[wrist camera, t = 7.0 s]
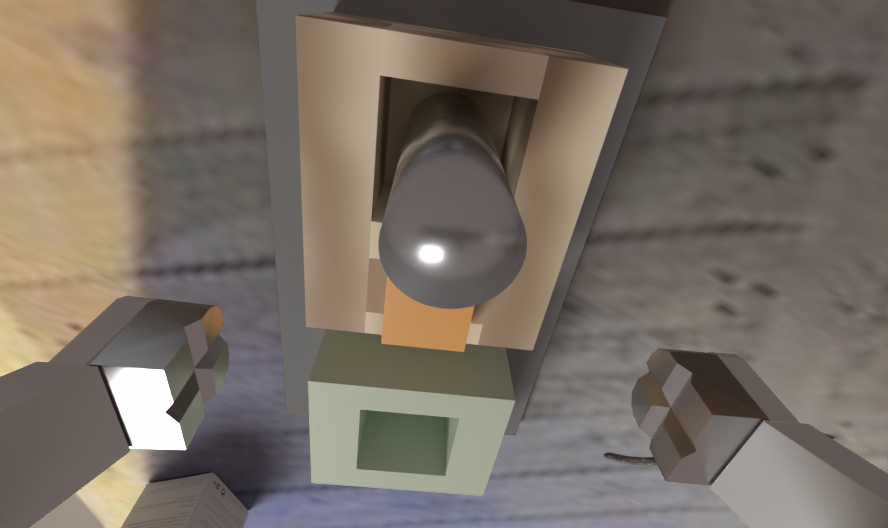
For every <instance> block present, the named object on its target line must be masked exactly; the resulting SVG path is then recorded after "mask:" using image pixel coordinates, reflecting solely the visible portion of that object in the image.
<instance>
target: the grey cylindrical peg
mask: <svg viewBox="0 0 888 528" xmlns="http://www.w3.org/2000/svg"><path fill="white" fill-rule="evenodd" d="M378 250H379V256H380V260H381V264H382V266H383V269H384V271H385V273H386V274H387V276H388V277H389V279H390V281H391V282H392V283H393V284H394V285H395V286H396V287H397V288H398V289H399V290H400V291H401V292H402V293H404V294H405V295H407V296H408V297H410V298H411V299H413V300H415V301H417V302H420V303H422V304H425V305H428V306H432V307H436V308H443V309H460V308H467V307H472V306H475V305H479V304H481V303H484V302H486V301H488V300H490V299H492V298H494V297H495V296H497V295H499V294H500V293H501V292H503V291H504V290H505V289H506V288H507V287H508V286H509V285H510V284H511V283H512V282H513V281H514V279H515V278H516V276H517V275H518V273H519V272H520V270H521V268H522V265H523V263H524V260H525V256H526V251H527V236H526V230H525V226H524V223H523V221H522V218H521V215H520V213H519V210H518V207H517V205H516V202H515V199H514V197H513V194H512V191H511V189H510V186H509V183H508V181H507V178H506V175H505V173H504V170H503V167H502V165H501V162H500V159H499V157H498V154H497V151H496V149H495V146H494V143H493V141H492V138H491V135H490V133H489V130H488V127H487V125H486V122H485V119H484V117H483V114H482V112H481V111H480V109H479V108H478V106H477V105H476V104H475V103H474V102H473V101H472V100H471V99H469V98H468V97H466V96H464V95H462V94H459V93H456V92H448V91H447V92H439V93H435V94H432V95H430V96H428V97H426V98H425V99H424V100H422V101H421V102H420V103H419V104H418V105H417V107H416V108H415V109H414V111H413V113H412V115H411V117H410V120H409V124H408V127H407V131H406V135H405V139H404V142H403V146H402V150H401V154H400V158H399V161H398V165H397V169H396V173H395V176H394V180H393V184H392V188H391V192H390V195H389V199H388V203H387V207H386V210H385V214H384V218H383V222H382V226H381V229H380V234H379V240H378Z"/></svg>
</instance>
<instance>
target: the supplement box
mask: <svg viewBox="0 0 888 528" xmlns="http://www.w3.org/2000/svg"><path fill="white" fill-rule="evenodd" d="M247 515H248V511H247V509H246V508H245V506H244V505H243V504H242V503H241V502H240V501H239V500H238V498H237V497H236V496H235V495H234V494H233V493H232V492H231V491H230V489H229V488H228V487H227V486H226V485H225V484H224V483H223V482H222V481H221V480H220V479H219V478H218V476H217V475H216V474H215V473H213V472H211V473H206V474H201V475H195V476H189V477H184V478H178V479H172V480H166V481H160V482H155V483H149V484H147V485H146V487H145V489H144V490H143V492H142V494H141V495H140V497H139V498H138V500H137V502H136V503H135V505H134V507H133V508H132V510H131V512H130V513H129V515H128V517H127V518H126V520H125V522H124V523H123V525H122V527H121V528H243V527H244V524H245V521H246V518H247Z"/></svg>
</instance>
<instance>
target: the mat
mask: <svg viewBox="0 0 888 528" xmlns="http://www.w3.org/2000/svg"><path fill="white" fill-rule="evenodd" d="M256 9H257V22H258V35H259V49H260V62H261V75H262V88H263V102H264V115H265V128H266V141H267V155H268V168H269V181H270V194H271V208H272V221H273V234H274V247H275V261H276V274H277V287H278V300H279V314H280V327H281V340H282V353H283V367H284V380H285V393H286V406H287V415H288V416H299V417H309V397H308V380H309V377H310V374H311V371H312V368H313V365H314V362H315V360H316V357H317V354H318V351H319V348H320V345H321V343H322V340H323V337H324V334H325V331H326V329H322V328H312V327H306V309H305V280H304V251H303V222H302V193H301V164H300V135H299V106H298V77H297V48H296V19H295V15H303V14H314V13H326V12H337V13H343V14H349V15H355V16H362V17H368V18H374V19H380V20H386V21H392V22H398V23H404V24H410V25H416V26H422V27H429V28H435V29H441V30H447V31H453V32H459V33H465V34H471V35H477V36H483V37H489V38H496V39H502V40H508V41H514V42H520V43H526V44H532V45H538V46H544V47H550V48H557V49H563V50H569V51H575V52H581V53H584V54H587V55H590V56H593V57H596V58H598V59H601V60H604V61H607V62H610V63H612V64H615V65H618V66H621V67H624V68H626V69H628V72H627V75H626V78H625V81H624V84H623V87H622V90H621V93H620V96H619V99H618V102H617V105H616V108H615V110H614V113H613V116H612V119H611V122H610V125H609V128H608V131H607V134H606V137H605V140H604V143H603V146H602V149H601V151H600V154H599V157H598V160H597V163H596V166H595V169H594V172H593V175H592V178H591V181H590V184H589V187H588V190H587V193H586V195H585V198H584V201H583V204H582V207H581V210H580V213H579V216H578V219H577V222H576V225H575V228H574V231H573V234H572V236H571V239H570V242H569V245H568V248H567V251H566V254H565V257H564V260H563V263H562V266H561V269H560V272H559V275H558V278H557V280H556V283H555V286H554V289H553V292H552V295H551V298H550V301H549V304H548V307H547V310H546V313H545V316H544V319H543V322H542V324H541V327H540V330H539V333H538V336H537V339H536V342H535V345H534V348H533V350H523V349H513V348H506V353H507V358H508V363H509V369H510V374H511V379H512V385H513V390H514V395H515V404H514V407H513V409H512V412H511V415H510V418H509V421H508V424H507V427H506V430H505V433H504V434H505V435H516V432H517V429H518V427H519V424H520V421H521V418H522V416H523V413H524V410H525V407H526V405H527V402H528V399H529V396H530V394H531V391H532V388H533V385H534V383H535V380H536V377H537V374H538V372H539V369H540V366H541V363H542V361H543V358H544V355H545V352H546V350H547V347H548V344H549V341H550V339H551V336H552V333H553V330H554V328H555V325H556V322H557V319H558V317H559V314H560V311H561V308H562V306H563V303H564V300H565V297H566V295H567V292H568V289H569V286H570V284H571V281H572V278H573V275H574V273H575V270H576V267H577V264H578V262H579V259H580V256H581V253H582V251H583V248H584V245H585V242H586V240H587V237H588V234H589V231H590V229H591V226H592V223H593V220H594V218H595V215H596V212H597V209H598V207H599V204H600V201H601V198H602V196H603V193H604V190H605V187H606V185H607V182H608V179H609V176H610V174H611V171H612V168H613V165H614V163H615V160H616V157H617V154H618V152H619V149H620V146H621V143H622V141H623V138H624V135H625V132H626V130H627V127H628V124H629V121H630V119H631V116H632V113H633V110H634V108H635V105H636V102H637V99H638V97H639V94H640V91H641V88H642V86H643V83H644V80H645V77H646V75H647V72H648V69H649V66H650V64H651V61H652V58H653V55H654V53H655V50H656V47H657V44H658V42H659V39H660V36H661V33H662V31H663V28H664V25H665V22H666V20H667V17H661V16H656V15H650V14H644V13H638V12H633V11H627V10H621V9H615V8H610V7H604V6H598V5H592V4H587V3H581V2H575V1H569V0H256Z"/></svg>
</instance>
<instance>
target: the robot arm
mask: <svg viewBox="0 0 888 528" xmlns="http://www.w3.org/2000/svg"><path fill="white" fill-rule="evenodd" d="M223 325H224V321H223V316H222V311H221V309H220V308H218V307H217V306H213V305H205V304H196V303H188V302H179V301H171V300H162V299H150V298H141V297H132V296H125V297H122V298H118V299H116V300H115V301H114V302H113V303H112V304H111V305H110V306H109V307H108V308H107V309H105V310H104V311H103V312H102V313H101V314H100V315H99V316H98V317H97V318H96V319H95V320H94V321H92V322H91V323H90V324H89V325H88V326H87V327H86V328H85V329H84V330H83V331H82V332H81V333H79V334H78V335H77V336H76V337H75V338H74V339H73V340H72V341H71V342H70V343H69V344H68V345H67V346H65V347H64V348H63V349H62V350H61V351H60V352H59V353H58V354H57V355H56V356H55V357H54V358H52V359H51V360H50V361H49V362H35V363H33V364H30V365H28V366H25V367H23V368H21V369H18V370H16V371H13V372H11V373H9V374H6V375H4V376H2V377H0V528H29V527H31V526H32V525H33V524H34V523H36V522H37V521H38V520H40V519H41V518H42V517H44V516H45V515H46V514H48V513H49V512H50V511H52V510H53V509H54V508H56V507H57V506H58V505H60V504H61V503H62V502H63V501H65V500H66V499H68V498H69V497H70V496H72V495H73V494H74V493H75V492H77V491H78V490H79V489H81V488H82V487H83V486H85V485H86V484H87V483H89V482H90V481H91V480H93V479H94V478H95V477H97V476H98V475H99V474H101V473H102V472H103V471H105V470H106V469H107V468H108V467H110V466H111V465H112V464H114V463H115V462H116V461H118V460H119V459H120V458H122V457H123V456H124V455H126V454H127V453H128V452H130V448H144V449H171V450H186V449H187V448H188V446H189V444H190V442H191V441H192V439H193V437H194V435H195V433H196V432H197V430H198V428H199V426H200V424H201V423H202V421H203V419H204V417H205V413H204V408H203V404H204V403H205V402H207V401H208V400H210V399H211V398H213V397H214V396H216V395H217V394H218V392H219V390H220V388H221V386H222V384H223V382H224V379H225V376H226V372H227V368H228V361H229V351H228V344H227V342H226V341H225V340H224V339H223V338H222V337H221V336H220V335H219V334H218V333H219V332H220V330H221V328H222V327H223ZM647 365H648V368H649V371H650V372H649V373H647V374H646V375H644V376H642V377H641V378H639V379H638V381H637V383H636V385H635V387H634V389H633V391H632V410H633V414H634V417H635V419H636V422H637V424H638V426H639V428H640V429H642V430H643V431H644V432H645V433H646V434H647V435H649V436H650V437H651V438H652V439H651V443H650V447H649V449H650V451H651V453H652V455H653V457H654V459H655V461H656V463H657V465H658V467H659V469H660V471H661V473H662V475H663V477H664V479H665V481H668V482H679V483H690V484H700V485H711V486H710V489H711V490H712V491H713V492H714V493H715V494H716V495H717V496H718V497H719V498H720V499H721V500H722V501H723V502H724V503H725V504H726V505H727V506H728V507H729V508H730V509H731V510H732V511H733V512H734V513H735V514H736V515H737V516H738V517H739V518H740V519H741V520H742V521H743V522H744V523H745V524H746V525H747V526H748V527H749V528H888V474H887V473H885V472H884V471H882V470H881V469H879V468H877V467H876V466H874V465H873V464H871V463H869V462H868V461H866V460H865V459H863V458H861V457H860V456H858V455H857V454H855V453H853V452H852V451H850V450H849V449H847V448H846V447H844V446H842V445H841V444H839V443H838V442H836V441H834V440H833V439H831V438H830V437H828V436H826V435H825V434H823V433H822V432H820V431H818V430H817V429H815V428H814V427H812V426H810V425H809V424H802V423H799V422H798V420H797V419H796V418H795V417H794V416H793V415H792V414H791V412H790V411H789V410H788V409H787V408H786V407H785V406H784V405H783V403H782V402H781V401H780V400H779V399H778V398H777V397H776V395H775V394H774V393H773V392H772V391H771V390H770V389H769V388H768V386H767V385H766V384H765V383H764V382H763V381H762V380H761V378H760V377H759V376H758V375H757V374H756V373H755V372H754V371H753V369H752V368H751V367H750V366H749V365H748V364H747V363H746V361H745V360H744V359H742V358H740V357H739V356H737V355H735V354H726V353H713V352H709V353H705V352H694V351H683V350H672V349H661V348H659V349H657V350H656V351H655V352H654V353H652V355H651V356H650V358H649V360H648V362H647Z"/></svg>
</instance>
